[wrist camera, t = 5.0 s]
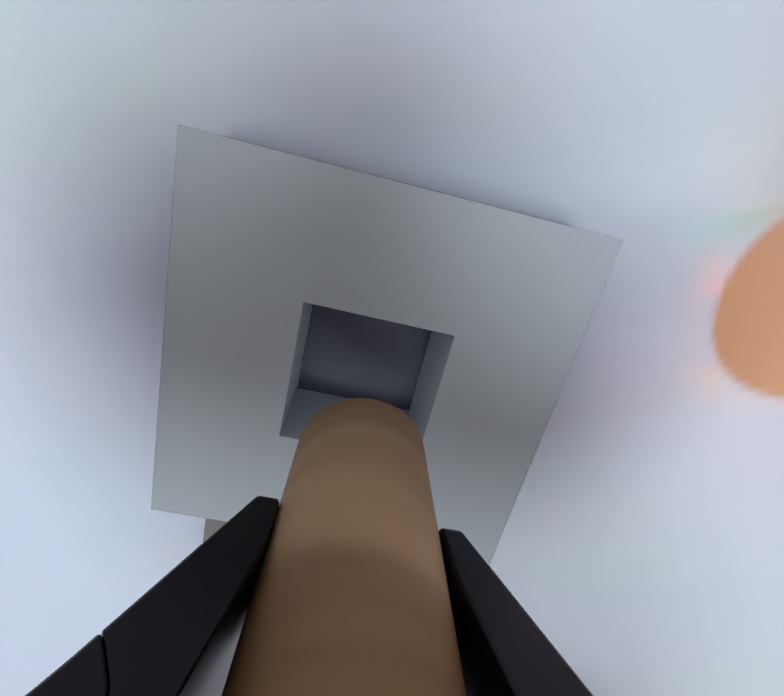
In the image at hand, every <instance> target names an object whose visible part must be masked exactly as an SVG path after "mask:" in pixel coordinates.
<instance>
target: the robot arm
mask: <svg viewBox="0 0 784 696" xmlns="http://www.w3.org/2000/svg"><path fill="white" fill-rule="evenodd" d="M278 509H279V500H278V499H276V498H270V497H264V496H257V497H255V498H254V499H253V500H252V501H251V502H250V503H248V504H247V505H246V506H245V507H244V508H243V509H242V510H240V511H239V512H238V513H237V514H236V515H235V516H233V517H232V518H231V519H230V520H229V521H228V522H227V523H225V524H224V525H223V526H222V527H221V528H220V529H219V530H217V531H216V532H215V533H214V534H213V535H212V536H211V537H209V538H208V539H207V540H206V541H205V542H204V543H203V544H201V545H200V546H199V547H198V548H197V549H196V550H194V551H193V552H192V553H191V554H190V555H189V556H188V557H186V558H185V559H184V560H183V561H182V562H181V563H180V564H178V565H177V566H176V567H175V568H174V569H173V570H172V571H170V572H169V573H168V574H167V575H166V576H165V577H163V578H162V579H161V580H160V581H159V582H158V583H157V584H155V585H154V586H153V587H152V588H151V589H150V590H149V591H147V592H146V593H145V594H144V595H143V596H142V597H141V598H139V599H138V600H137V601H136V602H135V603H134V604H133V605H131V606H130V607H129V608H128V609H127V610H126V611H124V612H123V613H122V614H121V615H120V616H119V617H118V618H116V619H115V620H114V621H113V622H112V623H111V624H110V625H108V626H107V627H106V628H105V629H104V630H103V631H102V635H97V636H95V637H94V638H93V639H92V640H91V641H90V642H89V643H87V644H86V645H85V646H84V647H83V648H82V649H81V650H79V651H78V652H77V653H76V654H75V655H74V656H73V657H71V658H70V659H69V660H68V661H67V662H65V663H64V664H63V665H62V666H61V667H59V668H58V669H57V670H56V671H55V672H53V673H52V674H51V675H50V676H49V677H47V678H46V679H45V680H44V681H43V682H41V683H40V684H39V685H38V686H37V687H35V688H34V689H33V690H32V691H30V692H29V693H28V694H27V695H25V696H222V692H223V689H224V686H225V682H226V679H227V676H228V673H229V669H230V666H231V663H232V659H233V656H234V653H235V649H236V646H237V643H238V640H239V636H240V633H241V630H242V626H243V623H244V620H245V616H246V613H247V610H248V607H249V603H250V600H251V597H252V593H253V590H254V587H255V583H256V580H257V577H258V574H259V571H260V568H261V565H262V562H263V559H264V555H265V552H266V549H267V545H268V542H269V539H270V535H271V532H272V529H273V526H274V522H275V519H276V516H277V512H278ZM438 532H439V538H440V543H441V549H442V555H443V561H444V567H445V573H446V578H447V584H448V590H449V596H450V602H451V608H452V613H453V619H454V625H455V631H456V637H457V642H458V648H459V654H460V660H461V666H462V672H463V677H464V683H465V689H466V695H467V696H593V695H592V694H591V692H590V691H589V690H588V689H587V687H586V686H585V685H584V684H583V682H582V681H581V680H580V679H579V677H578V676H577V675H576V674H575V672H574V671H573V670H572V669H571V667H570V666H569V665H568V664H567V662H566V661H565V660H564V659H563V657H562V656H561V655H560V654H559V652H558V651H557V650H556V649H555V647H554V646H553V645H552V644H551V642H550V641H549V640H548V639H547V637H546V636H545V635H544V634H543V632H542V631H541V630H540V629H539V627H538V626H537V625H536V624H535V622H534V621H533V620H532V619H531V617H530V616H529V615H528V614H527V612H526V611H525V610H524V609H523V607H522V606H521V605H520V604H519V602H518V601H517V600H516V599H515V597H514V596H513V595H512V594H511V592H510V591H509V590H508V589H507V587H506V586H505V585H504V584H503V582H502V581H501V580H500V579H499V577H498V576H497V575H496V574H495V572H494V571H493V570H492V569H491V567H490V566H489V565H488V564H487V562H486V561H485V560H484V559H483V557H482V556H481V555H480V554H479V552H478V551H477V550H476V549H475V547H474V546H473V545H472V544H471V542H470V541H469V540H468V539H467V537H466V536H465V535H464V534H463V533H462V532H461V531H458V530H452V529H447V528H442V529H440V530H439V531H438Z"/></svg>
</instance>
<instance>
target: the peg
mask: <svg viewBox="0 0 784 696" xmlns="http://www.w3.org/2000/svg"><path fill="white" fill-rule="evenodd" d="M222 696H467V695H466V689H465V683H464V677H463V672H462V666H461V660H460V654H459V648H458V642H457V637H456V631H455V625H454V619H453V613H452V608H451V602H450V596H449V590H448V584H447V578H446V573H445V567H444V561H443V555H442V549H441V543H440V538H439V532H438V526H437V520H436V514H435V509H434V503H433V497H432V491H431V485H430V479H429V474H428V468H427V462H426V456H425V450H424V445H423V440H422V437H421V434H420V432H419V430H418V428H417V427H416V425H415V424H414V422H413V421H412V420H411V419H410V418H409V417H408V416H407V415H406V414H405V413H404V412H402V411H401V410H400V409H398V408H396V407H395V406H393V405H391V404H388V403H386V402H383V401H380V400H376V399H369V398H352V399H346V400H341V401H338V402H335V403H332V404H330V405H328V406H326V407H325V408H323V409H322V410H320V411H319V412H317V413H316V414H315V415H314V416H313V417H312V418H311V419H310V420H309V421H308V422H307V424H306V426H305V427H304V429H303V431H302V433H301V435H300V438H299V441H298V445H297V448H296V451H295V455H294V458H293V461H292V465H291V468H290V471H289V474H288V478H287V481H286V484H285V488H284V491H283V494H282V498H281V501H280V504H279V509H278V512H277V516H276V519H275V522H274V526H273V529H272V532H271V535H270V539H269V542H268V545H267V549H266V552H265V555H264V559H263V562H262V565H261V568H260V571H259V574H258V577H257V580H256V583H255V587H254V590H253V593H252V597H251V600H250V603H249V607H248V610H247V613H246V616H245V620H244V623H243V626H242V630H241V633H240V636H239V640H238V643H237V646H236V649H235V653H234V656H233V659H232V663H231V666H230V669H229V673H228V676H227V679H226V682H225V686H224V689H223V692H222Z"/></svg>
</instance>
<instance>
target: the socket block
mask: <svg viewBox="0 0 784 696" xmlns="http://www.w3.org/2000/svg"><path fill="white" fill-rule="evenodd" d="M622 241H623V240H621V239H617V238H613V237H610V236H606V235H602V234H598V233H594V232H590V231H586V230H583V229H579V228H575V227H571V226H567V225H563V224H559V223H556V222H552V221H548V220H544V219H540V218H536V217H532V216H529V215H525V214H521V213H517V212H513V211H509V210H505V209H501V208H498V207H494V206H490V205H486V204H482V203H478V202H474V201H471V200H467V199H463V198H459V197H455V196H451V195H447V194H444V193H440V192H436V191H432V190H428V189H424V188H420V187H417V186H413V185H409V184H405V183H401V182H397V181H393V180H390V179H386V178H382V177H378V176H374V175H370V174H366V173H363V172H359V171H355V170H351V169H347V168H343V167H339V166H335V165H332V164H328V163H324V162H320V161H316V160H312V159H308V158H305V157H301V156H297V155H293V154H289V153H285V152H281V151H278V150H274V149H270V148H266V147H262V146H258V145H254V144H251V143H247V142H243V141H239V140H235V139H231V138H227V137H224V136H220V135H216V134H212V133H208V132H204V131H200V130H196V129H193V128H189V127H185V126H181V125H178V136H177V150H176V164H175V178H174V192H173V207H172V221H171V235H170V249H169V263H168V277H167V291H166V305H165V320H164V334H163V348H162V362H161V376H160V390H159V404H158V418H157V433H156V447H155V461H154V475H153V489H152V503H151V509H153V510H159V511H166V512H172V513H178V514H184V515H190V516H196V517H202V518H208V519H214V520H220V521H226V522H228V521H229V520H230V519H231V518H232V517H233V516H235V515H236V514H237V513H238V512H239V511H240V510H242V509H243V508H244V507H245V506H246V505H247V504H248V503H250V502H251V501H252V500H253V499H254V498H255V497H257V496H264V497H270V498H276V499H278V500H279V504H280V501H281V498H282V494H283V491H284V488H285V484H286V481H287V478H288V474H289V471H290V468H291V465H292V461H293V458H294V455H295V451H296V448H297V445H298V441H299V438H300V435H301V433H302V431H303V429H304V427H305V426H306V424H307V422H308V421H309V420H310V419H311V418H312V417H313V416H314V415H315V414H316V413H317V412H319V411H320V410H322V409H323V408H325V407H326V406H328V405H330V404H332V403H335V402H338V401H341V400H346V399H350V398H345V397H340V396H336V395H331V394H326V393H321V392H316V391H311V390H306V389H301V388H298V382H299V377H300V372H301V366H302V361H303V356H304V350H305V345H306V340H307V334H308V329H309V324H310V318H311V313H312V308H313V304H314V305H319V306H323V307H328V308H332V309H337V310H341V311H346V312H350V313H355V314H359V315H364V316H368V317H372V318H377V319H381V320H386V321H390V322H395V323H399V324H404V325H408V326H413V327H417V328H422V329H426V330H431V331H432V332H431V336H430V339H429V343H428V346H427V350H426V353H425V357H424V360H423V364H422V367H421V371H420V374H419V378H418V381H417V385H416V388H415V391H414V395H413V398H412V402H411V405H410V409H409V410H405V409H400V408H398V409H400V410H401V411H402V412H404V413H405V414H406V415H407V416H408V417H409V418H410V419H411V420H412V421H413V422H414V424H415V425H416V427H417V428H418V430H419V432H420V434H421V437H422V440H423V445H424V450H425V456H426V462H427V468H428V474H429V479H430V485H431V491H432V497H433V503H434V509H435V514H436V520H437V526H438V531H439V530H440V529H442V528H447V529H452V530H458V531H461V532H462V533H463V534H464V535H465V536H466V537H467V539H468V540H469V541H470V542H471V544H472V545H473V546H474V547H475V549H476V550H477V551H478V552H479V554H480V555H481V556H482V557H483V559H484V560H485V561H486V562H487V564H488V565H489V564H490V561H491V559H492V556H493V554H494V552H495V549H496V547H497V544H498V542H499V539H500V537H501V535H502V532H503V530H504V527H505V525H506V522H507V520H508V518H509V515H510V513H511V510H512V508H513V505H514V503H515V501H516V498H517V496H518V493H519V491H520V488H521V486H522V484H523V481H524V479H525V476H526V474H527V471H528V469H529V467H530V464H531V462H532V459H533V457H534V454H535V452H536V450H537V447H538V445H539V442H540V440H541V437H542V435H543V433H544V430H545V428H546V425H547V423H548V420H549V418H550V416H551V413H552V411H553V408H554V406H555V403H556V401H557V399H558V396H559V394H560V391H561V389H562V386H563V384H564V382H565V379H566V377H567V374H568V372H569V369H570V367H571V365H572V362H573V360H574V357H575V355H576V352H577V350H578V348H579V345H580V343H581V340H582V338H583V335H584V333H585V331H586V328H587V326H588V323H589V321H590V318H591V316H592V314H593V311H594V309H595V306H596V304H597V302H598V299H599V297H600V294H601V292H602V289H603V287H604V285H605V282H606V280H607V277H608V275H609V272H610V270H611V268H612V265H613V263H614V260H615V258H616V255H617V253H618V251H619V248H620V246H621V243H622Z"/></svg>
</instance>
